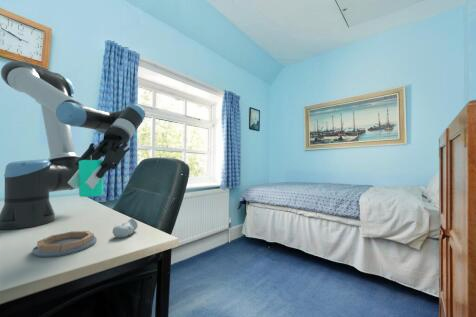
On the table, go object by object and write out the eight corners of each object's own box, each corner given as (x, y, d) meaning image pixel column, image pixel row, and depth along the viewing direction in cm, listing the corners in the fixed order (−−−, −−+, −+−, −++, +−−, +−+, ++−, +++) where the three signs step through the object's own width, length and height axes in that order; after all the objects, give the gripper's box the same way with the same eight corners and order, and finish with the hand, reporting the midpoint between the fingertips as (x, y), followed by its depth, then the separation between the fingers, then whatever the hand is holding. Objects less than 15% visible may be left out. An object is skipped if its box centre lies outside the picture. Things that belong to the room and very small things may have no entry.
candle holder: (29, 247, 55) (29, 238, 55) (88, 234, 65) (88, 227, 65) (37, 262, 46) (37, 252, 46) (103, 245, 56) (103, 236, 56)
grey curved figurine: (121, 244, 61) (107, 237, 62) (141, 234, 68) (128, 228, 70) (124, 230, 60) (111, 223, 62) (144, 222, 68) (132, 216, 69)
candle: (95, 196, 60) (94, 154, 60) (73, 196, 60) (73, 155, 60) (107, 193, 66) (107, 155, 66) (88, 193, 66) (87, 155, 66)
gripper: (147, 141, 77) (116, 193, 61) (102, 142, 79) (61, 193, 63) (138, 124, 72) (101, 177, 55) (91, 126, 74) (42, 177, 58)
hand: (80, 185), depth 59 cm, fingers closed on candle, 5 cm apart
